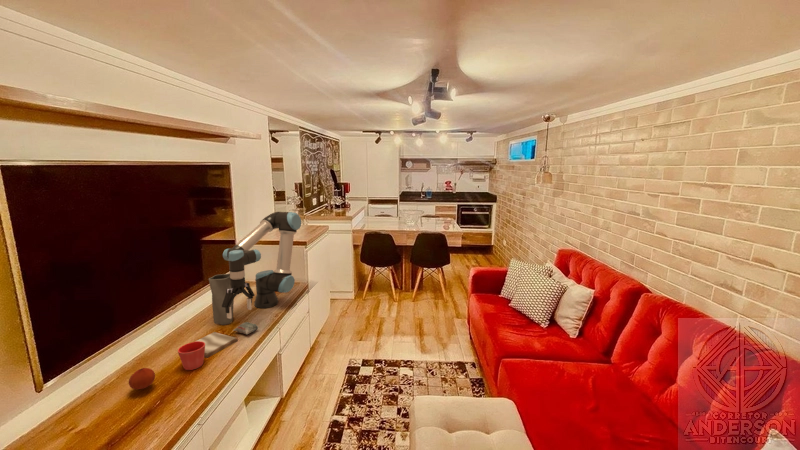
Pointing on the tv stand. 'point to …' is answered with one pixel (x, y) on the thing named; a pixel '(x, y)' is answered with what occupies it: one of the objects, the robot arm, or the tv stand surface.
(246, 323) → the packaged food
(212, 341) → the stand
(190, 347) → the flower pot
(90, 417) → the tv stand surface
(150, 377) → the fruit
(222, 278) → the vase
